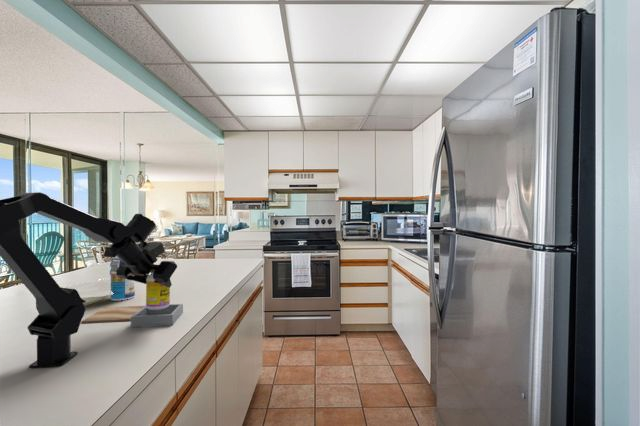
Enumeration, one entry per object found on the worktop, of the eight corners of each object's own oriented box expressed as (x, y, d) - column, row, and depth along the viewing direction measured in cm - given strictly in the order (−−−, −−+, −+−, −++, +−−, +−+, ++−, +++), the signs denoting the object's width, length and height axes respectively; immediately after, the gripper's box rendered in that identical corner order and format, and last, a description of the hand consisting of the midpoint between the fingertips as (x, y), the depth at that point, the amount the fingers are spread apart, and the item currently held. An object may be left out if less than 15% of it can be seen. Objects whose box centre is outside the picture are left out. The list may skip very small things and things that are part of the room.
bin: (172, 324, 97) (172, 314, 97) (130, 327, 95) (130, 316, 95) (182, 312, 108) (182, 303, 108) (145, 314, 106) (145, 305, 106)
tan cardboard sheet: (131, 320, 100) (131, 318, 100) (81, 323, 98) (81, 321, 98) (147, 307, 114) (147, 305, 114) (104, 309, 112) (104, 307, 112)
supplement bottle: (160, 311, 97) (160, 268, 97) (141, 309, 99) (141, 267, 99) (174, 305, 104) (174, 265, 104) (156, 303, 105) (156, 264, 105)
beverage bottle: (107, 298, 126) (107, 246, 126) (132, 294, 132) (132, 245, 131) (112, 302, 120) (111, 248, 120) (137, 298, 125) (137, 247, 125)
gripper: (172, 234, 95) (198, 266, 105) (125, 232, 101) (153, 263, 111) (150, 265, 87) (180, 296, 97) (100, 261, 93) (133, 291, 104)
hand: (161, 285), depth 103 cm, fingers closed on supplement bottle, 6 cm apart
